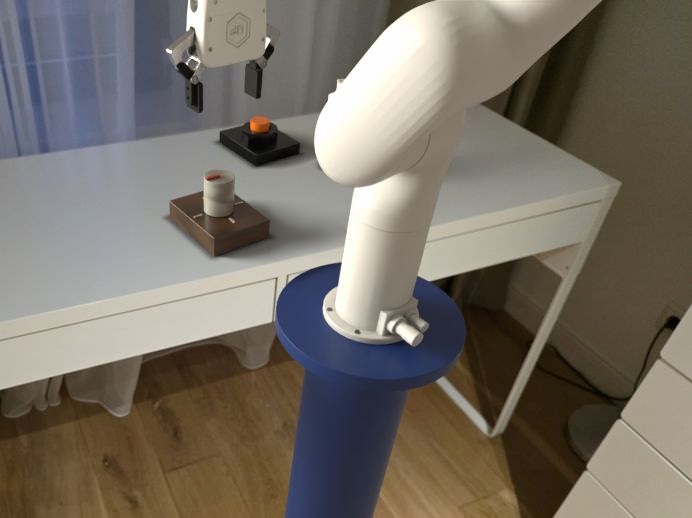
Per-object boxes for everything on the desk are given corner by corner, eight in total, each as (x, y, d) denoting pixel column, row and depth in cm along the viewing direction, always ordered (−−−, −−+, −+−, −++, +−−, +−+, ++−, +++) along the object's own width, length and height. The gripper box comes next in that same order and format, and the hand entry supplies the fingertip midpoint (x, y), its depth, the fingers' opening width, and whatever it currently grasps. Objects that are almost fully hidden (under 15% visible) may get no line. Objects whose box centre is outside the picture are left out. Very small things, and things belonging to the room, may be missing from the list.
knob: (223, 199, 102) (223, 164, 99) (239, 212, 100) (241, 176, 96) (198, 207, 101) (197, 172, 97) (214, 220, 98) (214, 184, 94)
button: (273, 131, 121) (274, 121, 120) (257, 135, 120) (258, 125, 118) (262, 124, 123) (262, 115, 122) (246, 128, 122) (246, 118, 121)
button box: (299, 154, 122) (301, 133, 120) (255, 166, 118) (256, 145, 115) (261, 131, 130) (262, 111, 127) (219, 142, 125) (219, 121, 123)
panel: (269, 237, 100) (270, 219, 98) (213, 256, 96) (214, 237, 94) (222, 201, 108) (222, 183, 106) (169, 217, 104) (168, 199, 102)
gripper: (182, -23, 74) (185, 125, 86) (301, -39, 82) (289, 99, 93) (149, -36, 79) (156, 106, 90) (265, -50, 86) (258, 83, 98)
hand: (224, 102), depth 92 cm, fingers open, 9 cm apart
